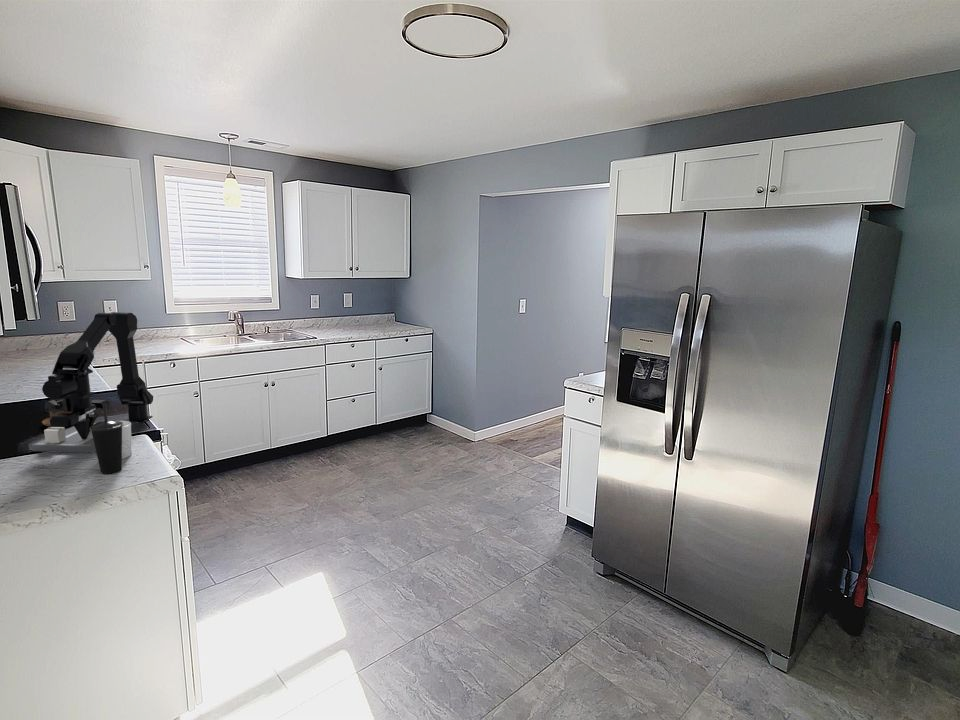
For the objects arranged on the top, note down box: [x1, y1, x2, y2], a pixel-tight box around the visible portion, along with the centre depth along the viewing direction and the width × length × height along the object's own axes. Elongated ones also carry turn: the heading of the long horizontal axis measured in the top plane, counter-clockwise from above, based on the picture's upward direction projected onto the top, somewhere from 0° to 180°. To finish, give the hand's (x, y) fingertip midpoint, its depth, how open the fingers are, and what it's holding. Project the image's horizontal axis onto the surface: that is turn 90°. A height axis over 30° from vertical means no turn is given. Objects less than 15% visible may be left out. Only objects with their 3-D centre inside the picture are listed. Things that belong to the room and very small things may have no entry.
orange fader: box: [87, 422, 97, 439], centre depth 171 cm, size 3×4×4 cm
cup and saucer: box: [41, 411, 70, 428], centre depth 188 cm, size 12×12×6 cm
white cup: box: [119, 420, 133, 460], centre depth 161 cm, size 8×8×10 cm
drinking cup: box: [90, 403, 123, 476], centre depth 150 cm, size 8×8×20 cm
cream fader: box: [43, 427, 66, 443], centre depth 166 cm, size 3×4×4 cm
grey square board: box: [31, 425, 96, 454], centre depth 172 cm, size 18×18×2 cm
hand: (84, 438), depth 167 cm, fingers closed
